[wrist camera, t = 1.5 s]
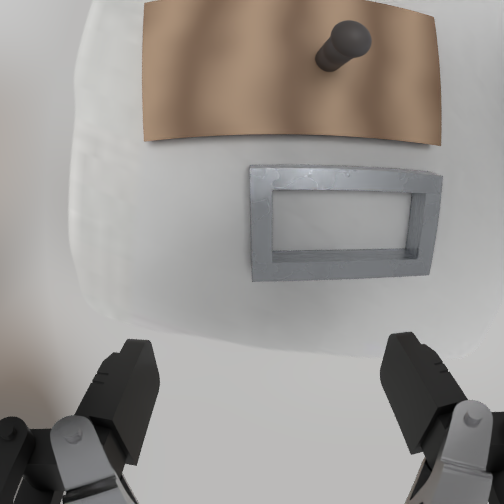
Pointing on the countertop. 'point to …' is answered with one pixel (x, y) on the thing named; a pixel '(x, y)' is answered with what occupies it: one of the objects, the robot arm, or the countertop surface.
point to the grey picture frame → (343, 261)
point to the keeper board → (289, 69)
